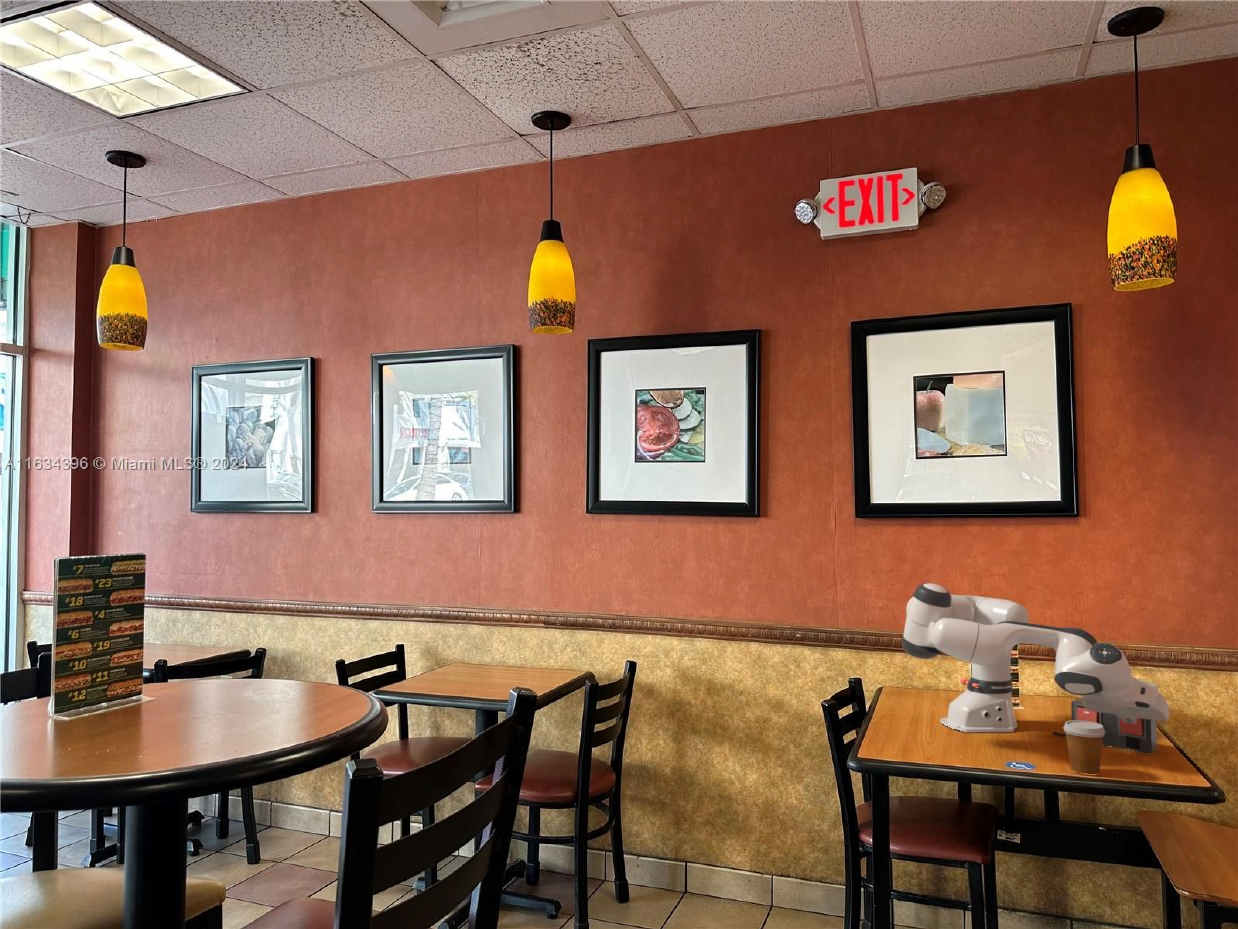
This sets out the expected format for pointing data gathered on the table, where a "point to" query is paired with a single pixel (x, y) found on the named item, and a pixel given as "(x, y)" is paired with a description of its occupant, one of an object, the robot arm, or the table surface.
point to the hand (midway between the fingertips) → (1130, 721)
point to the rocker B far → (1131, 727)
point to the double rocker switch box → (1113, 731)
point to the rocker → (1086, 715)
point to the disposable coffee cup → (1084, 745)
